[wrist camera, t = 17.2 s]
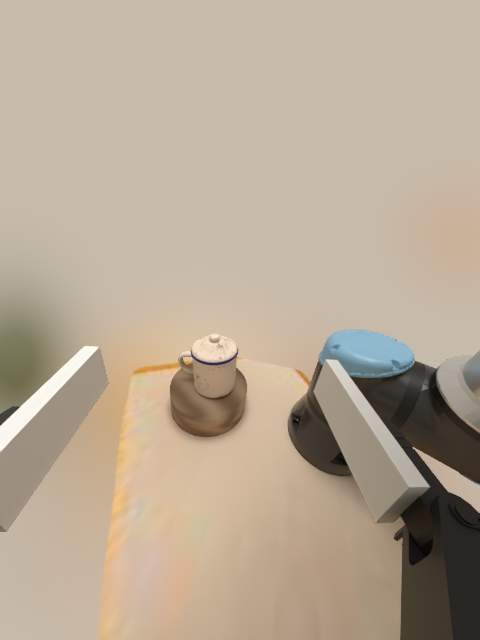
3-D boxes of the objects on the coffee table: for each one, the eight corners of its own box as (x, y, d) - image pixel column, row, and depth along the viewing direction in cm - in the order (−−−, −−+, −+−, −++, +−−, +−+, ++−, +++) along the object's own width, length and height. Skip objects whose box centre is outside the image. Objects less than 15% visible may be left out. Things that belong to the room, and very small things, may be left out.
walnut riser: (216, 369, 57) (217, 351, 54) (258, 408, 47) (262, 389, 44) (158, 397, 47) (156, 377, 44) (197, 455, 37) (197, 434, 34)
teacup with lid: (238, 371, 48) (240, 326, 43) (233, 402, 39) (236, 351, 34) (187, 366, 48) (183, 321, 43) (172, 395, 40) (166, 345, 35)
